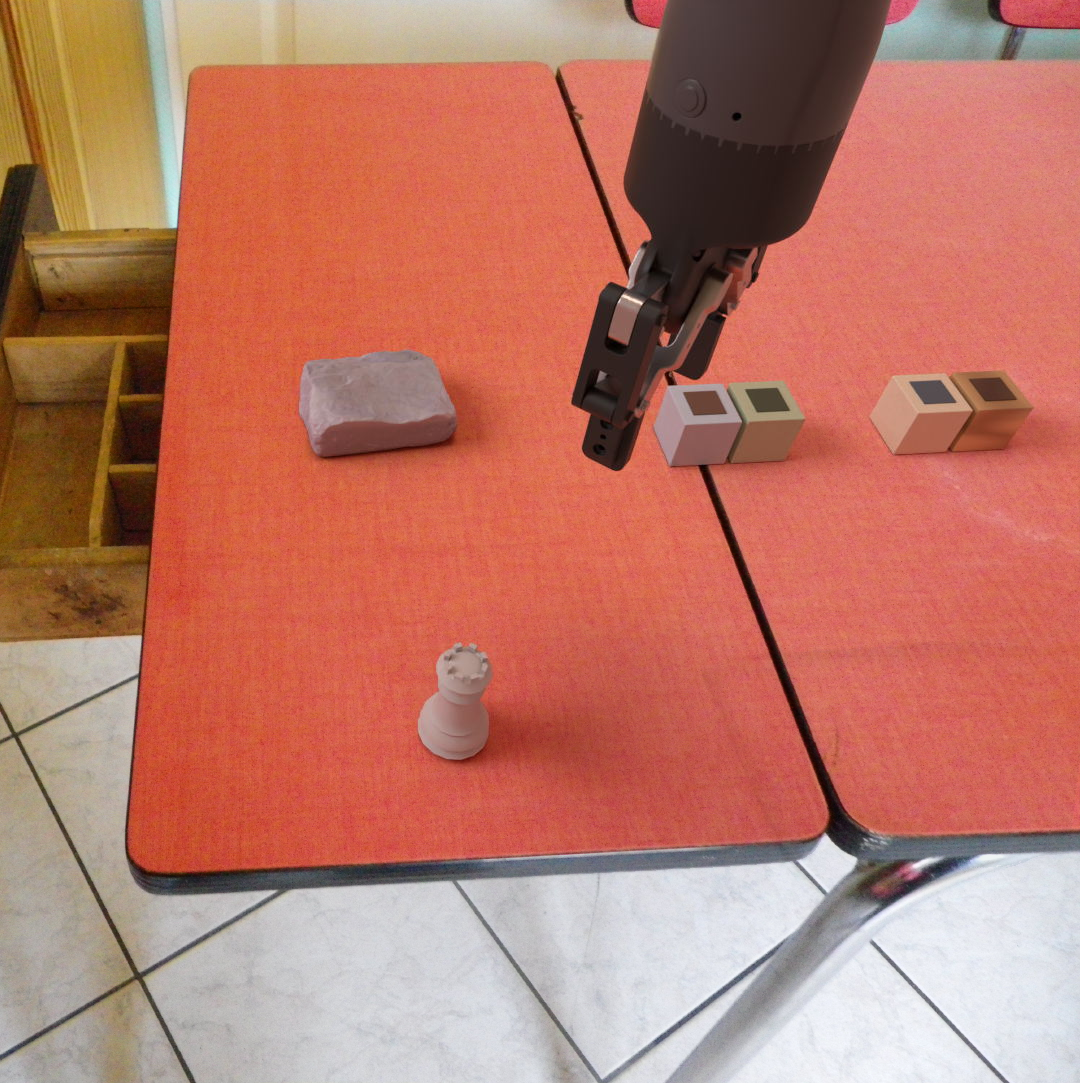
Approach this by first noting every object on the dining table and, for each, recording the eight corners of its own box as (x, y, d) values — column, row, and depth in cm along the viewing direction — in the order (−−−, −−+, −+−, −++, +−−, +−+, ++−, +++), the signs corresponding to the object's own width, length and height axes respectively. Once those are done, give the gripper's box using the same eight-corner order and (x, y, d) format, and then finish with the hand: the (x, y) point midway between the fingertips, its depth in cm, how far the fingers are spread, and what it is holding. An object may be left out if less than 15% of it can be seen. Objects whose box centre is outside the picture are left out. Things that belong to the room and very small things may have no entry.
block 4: (976, 411, 83) (1005, 368, 80) (1004, 449, 80) (1035, 406, 77) (925, 414, 83) (952, 371, 79) (951, 452, 80) (980, 409, 76)
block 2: (764, 422, 82) (784, 379, 78) (785, 460, 79) (806, 417, 75) (712, 424, 81) (729, 381, 78) (730, 463, 78) (749, 420, 75)
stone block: (292, 402, 84) (312, 466, 76) (291, 351, 81) (311, 412, 74) (427, 391, 86) (459, 452, 79) (430, 340, 83) (465, 398, 76)
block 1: (706, 425, 81) (723, 381, 78) (724, 464, 78) (743, 420, 75) (652, 427, 81) (667, 384, 77) (669, 466, 78) (685, 423, 74)
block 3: (919, 414, 83) (946, 371, 79) (945, 452, 80) (974, 409, 76) (868, 417, 82) (892, 374, 79) (892, 455, 80) (918, 412, 76)
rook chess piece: (424, 768, 60) (435, 698, 54) (410, 705, 63) (419, 632, 57) (495, 758, 61) (514, 689, 55) (478, 696, 64) (495, 624, 58)
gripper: (769, 200, 32) (647, 533, 44) (911, 53, 39) (773, 372, 52) (566, 127, 35) (504, 458, 47) (734, 3, 42) (643, 317, 55)
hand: (645, 413), depth 49 cm, fingers open, 8 cm apart
